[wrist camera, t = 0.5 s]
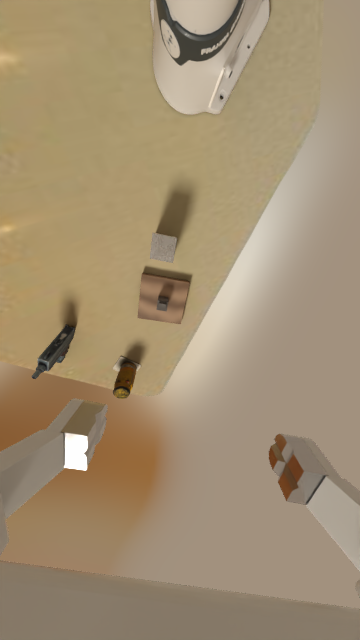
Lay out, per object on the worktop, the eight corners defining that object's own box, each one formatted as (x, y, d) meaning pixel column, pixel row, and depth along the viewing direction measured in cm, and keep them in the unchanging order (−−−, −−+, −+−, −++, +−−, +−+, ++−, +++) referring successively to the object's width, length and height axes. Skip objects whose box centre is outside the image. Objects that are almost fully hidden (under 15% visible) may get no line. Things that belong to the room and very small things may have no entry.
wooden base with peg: (142, 272, 51) (139, 278, 45) (189, 281, 53) (191, 287, 47) (138, 315, 57) (134, 325, 51) (180, 321, 59) (181, 331, 53)
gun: (29, 393, 51) (27, 368, 43) (62, 349, 64) (66, 323, 55) (39, 396, 52) (39, 372, 43) (70, 352, 65) (75, 327, 56)
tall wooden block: (155, 232, 47) (152, 232, 38) (175, 236, 47) (177, 237, 38) (153, 253, 49) (149, 258, 40) (172, 257, 50) (172, 262, 41)
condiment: (132, 377, 69) (125, 403, 58) (112, 368, 67) (101, 394, 56) (141, 364, 67) (136, 390, 56) (121, 355, 64) (111, 380, 53)
